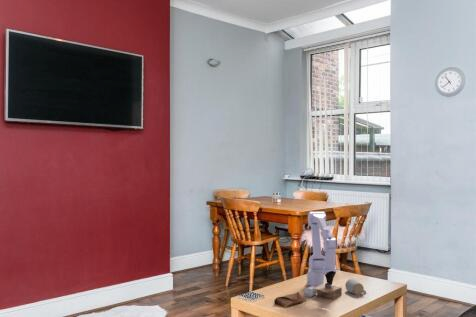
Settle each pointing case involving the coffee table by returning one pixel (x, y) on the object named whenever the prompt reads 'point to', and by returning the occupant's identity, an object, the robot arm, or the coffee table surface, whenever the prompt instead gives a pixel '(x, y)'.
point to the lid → (326, 288)
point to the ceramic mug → (354, 287)
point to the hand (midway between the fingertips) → (329, 284)
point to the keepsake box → (331, 295)
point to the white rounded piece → (310, 291)
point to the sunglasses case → (289, 300)
